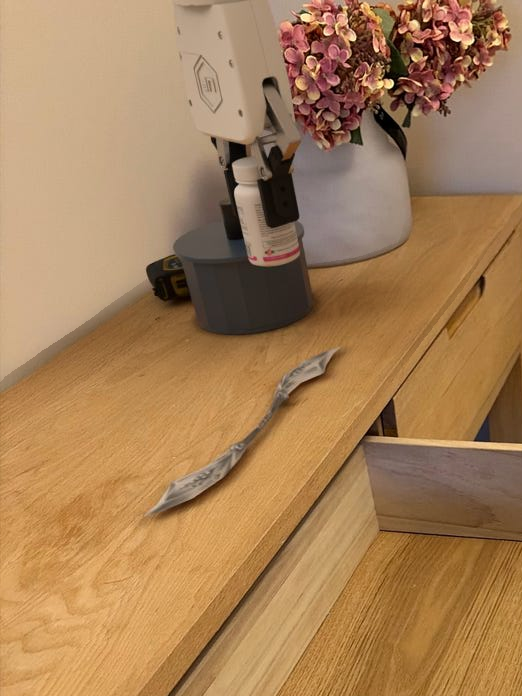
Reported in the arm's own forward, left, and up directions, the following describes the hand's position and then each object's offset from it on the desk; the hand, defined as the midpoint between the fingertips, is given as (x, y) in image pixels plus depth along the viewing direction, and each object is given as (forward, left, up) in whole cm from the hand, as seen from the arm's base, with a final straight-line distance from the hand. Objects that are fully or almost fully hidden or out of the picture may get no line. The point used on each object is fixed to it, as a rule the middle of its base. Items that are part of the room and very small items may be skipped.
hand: (266, 216), depth 89 cm
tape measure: (-26, +1, -13) cm, 29 cm away
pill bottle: (0, 0, -4) cm, 4 cm away
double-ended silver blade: (+10, -11, -13) cm, 20 cm away
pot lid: (-14, +4, -6) cm, 16 cm away
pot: (-14, +4, -13) cm, 20 cm away
